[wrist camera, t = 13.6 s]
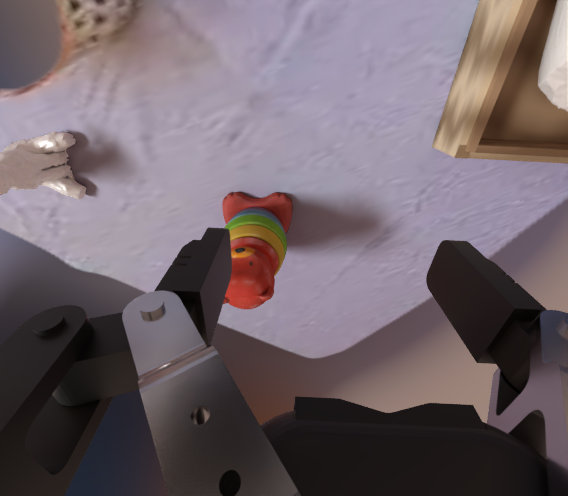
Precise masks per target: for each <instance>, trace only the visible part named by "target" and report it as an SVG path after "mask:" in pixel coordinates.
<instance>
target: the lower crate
mask: <svg viewBox="0 0 568 496" xmlns="http://www.w3.org/2000/svg"><path fill="white" fill-rule="evenodd" d="M522 1H523V0H479V3H478V7H477V10H476V13H475V16H474V19H473V22H472V25H471V28H470V31H469V34H468V37H467V40H466V43H465V46H464V49H463V53H462V56H461V59H460V62H459V65H458V68H457V71H456V74H455V77H454V80H453V83H452V86H451V89H450V92H449V95H448V99H447V102H446V105H445V108H444V111H443V114H442V117H441V120H440V123H439V126H438V129H437V132H436V135H435V138H434V142H433V145H432V147H434V148H436V149H438V150H440V151H442V152H444V153H446V154H448V155H451V156H453V157H455V158H475V159H494V160H513V161H532V162H551V163H568V158H567V157H548V156H529V155H510V154H491V153H472V152H466V151H465V150H466V147H467V145H466V144H467V142H468V139H469V137H470V134H471V132H472V129H473V126H474V124H475V121H476V119H477V116H478V114H479V111H480V108H481V106H482V103H483V101H484V98H485V96H486V93H487V91H488V88H489V85H490V83H491V80H492V78H493V75H494V73H495V70H496V68H497V65H498V62H499V60H500V57H501V55H502V52H503V50H504V47H505V44H506V42H507V39H508V37H509V34H510V32H511V29H512V27H513V24H514V21H515V19H516V16H517V14H518V11H519V9H520V6H521V4H522Z"/></svg>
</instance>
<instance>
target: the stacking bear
mask: <svg viewBox="0 0 568 496" xmlns="http://www.w3.org/2000/svg"><path fill="white" fill-rule="evenodd" d="M223 214H224V219H225V222H226V224H227V225H226V226H225V228H226V229H229V232H230V242H231V256H232V273H231V279H230V282H229V285H228V289H227V292H226V295H225V298H224V302H223V304H225V303H229V304H230V305H232V306H234V307H237V308H240V309H253V308H256V307H258V306H260V305H261V304H263V303H264V302H265V301H266V300H269V299H270V298H271V297H272V296H273V294H274V282H275V280H274V276H275V275H276V274H277V272H278V271H279V269H280V267H281V265H282V263H283V260H284V258H285V255H286V250H287V238H286V232H287V230H288V228H289V226H290V222H291V218H292V201H291V199H290V198H288V197H287V196H286V194H284V193H281V194H280V193H272V194H271V195H269V196H267V197H264V198H260V199H256V198H250V197H248V196H246V195H244V194H242V193H240V192H235V193H229V194H228V195H227V196H226V197H225V198H224V200H223Z"/></svg>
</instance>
